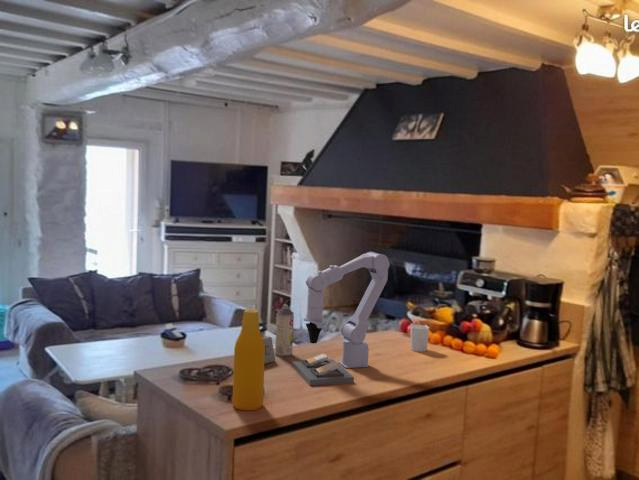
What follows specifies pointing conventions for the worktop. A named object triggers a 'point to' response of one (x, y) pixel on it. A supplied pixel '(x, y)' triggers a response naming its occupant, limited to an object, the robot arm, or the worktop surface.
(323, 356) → the back rocker
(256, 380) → the beer bottle
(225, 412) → the worktop surface
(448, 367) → the worktop surface
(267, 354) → the electrical switch
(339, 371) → the breaker panel
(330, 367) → the front rocker
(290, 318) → the aerosol can
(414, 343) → the white cup
